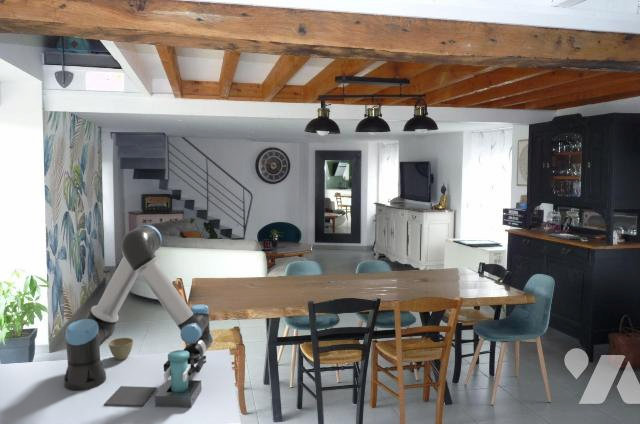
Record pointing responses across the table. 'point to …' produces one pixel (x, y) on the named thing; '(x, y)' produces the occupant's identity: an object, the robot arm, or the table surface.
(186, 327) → the robot arm
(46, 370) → the table surface
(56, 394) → the table surface
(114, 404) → the mat
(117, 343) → the flower pot
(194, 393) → the housing
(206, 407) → the table surface
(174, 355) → the teal capped cylinder
